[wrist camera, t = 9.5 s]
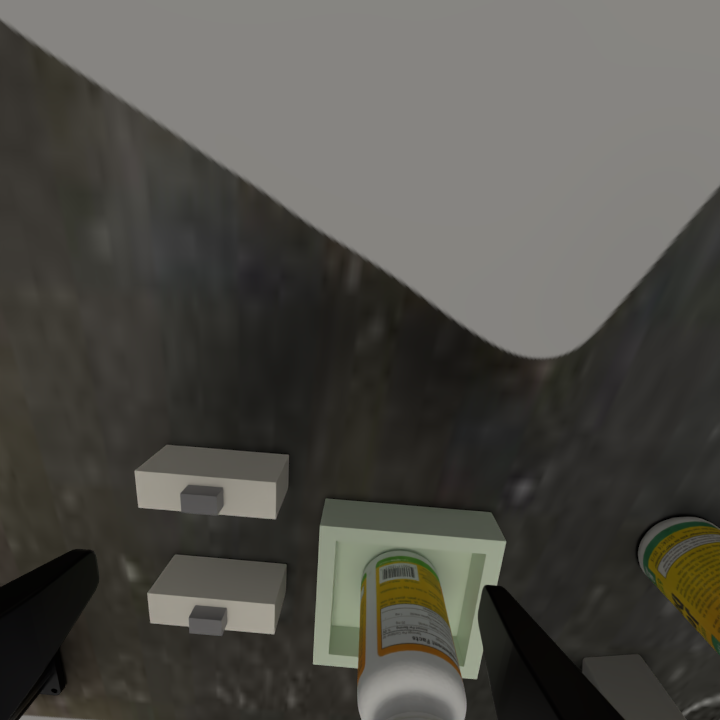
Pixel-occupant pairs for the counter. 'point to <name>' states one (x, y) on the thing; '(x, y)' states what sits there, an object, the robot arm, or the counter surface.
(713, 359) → the counter surface
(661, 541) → the supplement bottle
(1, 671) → the robot arm
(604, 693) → the lighter
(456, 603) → the tray
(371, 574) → the supplement bottle
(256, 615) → the pair of white blocks
